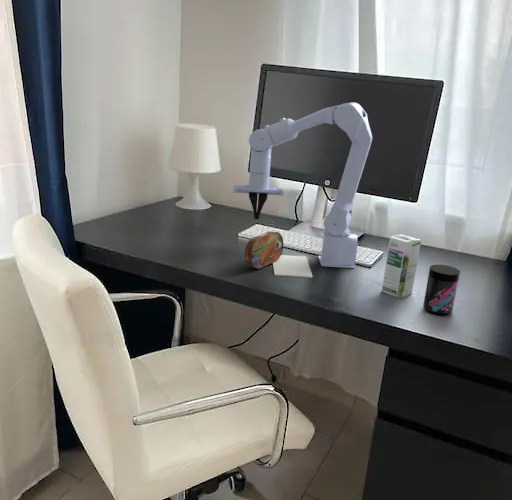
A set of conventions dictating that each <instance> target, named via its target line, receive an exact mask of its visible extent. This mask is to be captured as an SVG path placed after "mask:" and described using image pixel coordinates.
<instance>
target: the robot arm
mask: <svg viewBox="0 0 512 500" xmlns="http://www.w3.org/2000/svg"><path fill="white" fill-rule="evenodd" d="M322 124H329V125H335V124H336V125H337V127H339V128H340V129H341V130H342V131H343V132H345V133H346V135H347V136H348V139H349V140H350V142H351V146H350V150H349V153H348V156H347V160H346V163H345V166H344V171H343V173H342V177H341V179H340V183H339V187H338V190H337V193H336V197H335V200H334V202H333V204H332V206H331V208H330V212H329V213H328V214H327V215H326V216H325V217H324V219H323V227H324V230H323V239H322V245H321V246H322V247H321V255H318V256H317V259H318V261H319V263H320V266H321V267H330V268H344V269H345V268H346V269H348V268H349V269H355V268H356V259H357V251H358V235H357V234H356V233H351V231H350V228H349V226H350V225H351V224H352V222H353V208H354V200H355V197H356V194H357V190H358V187H359V185H360V184H359V183H360V180H361V179H362V174H363V172H364V168H365V165H366V161H367V159H368V156H369V152H370V150H371V145H372V142H373V134H372V130H371V127H370V122H369V119H368V113H367V112H366V111H365V110H364V108H363V107H362V105H360V103H358V102H355V101H354V102H352V101H351V102H347V103H345V102H344V103H342V104H339V105H334V106H329V107H325V108H322V109H320V110H317V111H315V112H313V113H310V114H308V115H306V116H304V117H301V118H298V119H297V120H294V119H292V118H289V117H288V118H285V117H282V118H280V119H279V121H278V122H276V123H273V124H271V125H269V124H267V125H264V128H261V129H256V130H255V131H253V132H252V133H250V135H249V138H248V144H249V146H250V147H251V150H250V151H251V152H250V163H249V178H248V179H249V180H248V185H246V184H233V187H232V188H233V189H232V193H233V194H237V193H238V194H239V193H241V194H248V198H249V201H250V203H251V207H252V212H253V220H259V219H260V215H261V212H262V210H263V207H264V205H265V203H266V202H267V200H268V195H270V196H279V197H284V193H285V189H284V188H283V187H275V186H274V187H273V186H270V175H271V163H272V162H271V161H272V148H273V147H276V146H279V145H281V144H282V145H283V144H285V143H286V142H289V141H293V140H295V139H296V138H297V137H298V134H299V133H300V132H302V131H304V130H308V129H310V128H313V127H316V126H319V125H322Z"/></svg>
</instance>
